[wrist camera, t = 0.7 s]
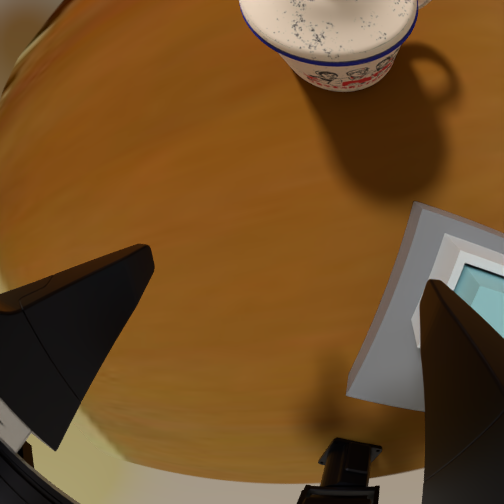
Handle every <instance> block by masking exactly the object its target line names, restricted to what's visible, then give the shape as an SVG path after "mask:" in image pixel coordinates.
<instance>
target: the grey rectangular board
mask: <svg viewBox="0 0 504 504" xmlns="http://www.w3.org/2000/svg"><path fill="white" fill-rule="evenodd" d="M464 265H467V266H470V267H473V268H476V269H479V270H482V271H485V272H488V273H491V274H494V275H496V276H499V277H502V278H504V233H501V232H499V231H497V230H494V229H492V228H489V227H487V226H484V225H482V224H479V223H476V222H474V221H471V220H469V219H466V218H463V217H460V216H458V215H455V214H452V213H449V212H446V211H444V210H441V209H438V208H435V207H432V206H429V205H426V204H423V203H420V202H417V201H414V202H413V206H412V210H411V213H410V217H409V220H408V224H407V227H406V230H405V234H404V237H403V240H402V243H401V246H400V250H399V253H398V256H397V259H396V262H395V264H394V267H393V270H392V273H391V276H390V279H389V281H388V284H387V287H386V289H385V292H384V295H383V297H382V300H381V302H380V305H379V307H378V310H377V312H376V315H375V317H374V320H373V322H372V324H371V327H370V329H369V331H368V334H367V336H366V338H365V340H364V343H363V345H362V347H361V349H360V351H359V354H358V356H357V358H356V360H355V362H354V364H353V366H352V368H351V370H350V372H349V375H348V384H347V391H346V396H349V397H353V398H358V399H362V400H366V401H371V402H375V403H380V404H385V405H390V406H395V407H400V408H405V409H411V410H416V411H422V412H425V403H424V386H423V373H422V363H421V352H420V313H419V306H420V301H421V298H422V295H423V292H424V289H425V286H426V283H427V281H428V280H429V279H436V280H441V281H442V282H444V283H445V284H446V285H447V286H448V287H449V288H450V289H452V290H453V291H454V289H455V286H456V284H457V282H458V279H459V277H460V274H461V272H462V269H463V267H464Z"/></svg>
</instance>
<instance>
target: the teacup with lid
mask: <svg viewBox="0 0 504 504" xmlns="http://www.w3.org/2000/svg"><path fill="white" fill-rule="evenodd" d="M430 1H431V0H239V3H240V9H241V12H242V15H243V18H244V20H245V21H246V23H247V25H248V26H249V28H250V29H251V31H252V32H253V33H254V34H255V35H256V36H257V37H258V38H259V39H260V40H261V41H262V42H263V43H264V44H266V45H267V46H268V47H270V48H271V49H273V50H275V51H276V52H278V53H279V54H280V56H281V57H282V58H283V59H284V60H285V61H286V62H287V64H288V65H289V66H290V67H291V68H292V69H293V70H294V71H295V72H296V73H297V74H298V75H299V76H300V77H301V78H303V79H304V80H306V81H307V82H309V83H311V84H313V85H315V86H317V87H320V88H323V89H326V90H331V91H337V92H350V91H357V90H361V89H364V88H367V87H369V86H371V85H373V84H375V83H376V82H378V81H379V80H381V79H382V78H383V77H384V76H385V75H386V74H387V73H388V71H389V70H390V68H391V66H392V65H393V62H394V60H395V58H396V55H397V53H398V51H399V49H400V46H401V45H402V43H403V42H404V41H405V40H406V39H407V38H408V36H409V35H410V34H411V32H412V30H413V28H414V26H415V23H416V21H417V16H418V9H420V8H422V7H424V6H425V5H427V4H428V3H429V2H430Z"/></svg>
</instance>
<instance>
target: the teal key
mask: <svg viewBox="0 0 504 504" xmlns="http://www.w3.org/2000/svg"><path fill="white" fill-rule="evenodd" d="M454 292H455V293H456V294H457V295H458V296H460V297H461V298H462V299H463V300H464V301H465V302H466V303H467V304H468V305H469V306H471V307H472V308H473V309H474V310H475V311H476V312H477V313H478V314H479V315H480V316H481V317H482V318H483V319H484V320H486V321H487V322H488V323H489V324H490V325H491V326H492V327H493V328H494V329H495V330H496V331H497V332H498V333H499V334H500V335H501V336H502V337H503V338H504V278H502V277H499V276H496V275H494V274H491V273H488V272H485V271H482V270H479V269H476V268H473V267H470V266H467V265H464V267H463V269H462V272H461V274H460V277H459V279H458V282H457V284H456V286H455V289H454Z"/></svg>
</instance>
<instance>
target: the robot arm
mask: <svg viewBox="0 0 504 504" xmlns="http://www.w3.org/2000/svg"><path fill="white" fill-rule="evenodd" d="M154 268H155V267H154V261H153V256H152V252H151V248H150V246H149V245H146V244H136V245H133V246H130V247H127V248H125V249H122V250H119V251H116V252H113V253H110V254H108V255H105V256H102V257H99V258H97V259H94V260H91V261H88V262H86V263H83V264H80V265H78V266H75V267H72V268H70V269H67V270H64V271H62V272H59V273H57V274H55V275H51V276H49V277H46V278H44V279H41V280H38V281H36V282H33V283H30V284H27V285H25V286H22V287H19V288H16V289H13V290H10V291H7V292H5V293H2V294H0V504H80V503H78V502H77V501H75V500H74V499H73V498H71V497H70V496H68V495H67V494H65V493H64V492H63V491H61V490H60V489H59V488H57V487H56V486H55V485H53V484H52V483H51V482H50V481H48V480H47V479H46V478H45V477H43V476H42V475H41V474H40V473H39V472H37V471H36V470H35V469H34V464H33V456H32V447H31V445H30V444H29V443H27V441H26V440H27V438H28V437H29V435H30V434H31V433H32V434H33V435H35V436H36V437H37V438H38V439H40V440H41V441H42V442H43V443H45V444H46V445H47V446H49V447H50V448H51V449H53V450H54V451H56V450H57V449H58V447H59V445H60V443H61V441H62V439H63V437H64V435H65V433H66V431H67V429H68V427H69V425H70V423H71V421H72V419H73V417H74V415H75V413H76V411H77V410H78V408H79V406H80V404H81V401H82V400H83V398H84V396H85V394H86V392H87V390H88V389H89V387H90V385H91V383H92V381H93V379H94V378H95V376H96V374H97V372H98V371H99V369H100V367H101V365H102V363H103V362H104V360H105V358H106V356H107V355H108V353H109V351H110V350H111V348H112V346H113V344H114V343H115V341H116V339H117V338H118V336H119V334H120V333H121V331H122V329H123V328H124V326H125V324H126V323H127V321H128V319H129V318H130V316H131V315H132V313H133V311H134V310H135V308H136V306H137V304H138V302H139V300H140V298H141V296H142V294H143V292H144V290H145V288H146V286H147V284H148V282H149V280H150V278H151V276H152V274H153V272H154ZM419 313H420V352H421V363H422V373H423V386H424V403H425V470H424V484H423V496H422V504H504V338H503V337H502V336H501V335H500V334H499V333H498V332H497V331H496V330H495V329H494V328H493V327H492V326H491V325H490V324H489V323H488V322H487V321H486V320H484V319H483V318H482V317H481V316H480V315H479V314H478V313H477V312H476V311H475V310H474V309H473V308H472V307H471V306H469V305H468V304H467V303H466V302H465V301H464V300H463V299H462V298H461V297H460V296H458V295H457V294H456V293H455V292H454V291H453V290H452V289H450V288H449V287H448V286H447V285H446V284H445V283H444V282H442V281H441V280H436V279H429V280H428V281H427V283H426V286H425V289H424V292H423V295H422V298H421V301H420V306H419ZM381 452H382V447H381V446H375V445H370V444H364V443H359V442H354V441H349V440H345V439H340V438H335V439H333V441H332V442H331V444H330V445H329V447H328V448H327V449H326V451H325V452H324V454H323V455H322V456H321V458H320V459H319V462H318V463H319V464H321V465H325V468H324V472H323V476H322V480H321V484H320V486H311V485H306V486H305V488H304V490H302V492H301V495H300V497H299V499H298V502H297V504H378V499H379V488H380V486H375V487H368V483H369V475H370V466H371V462H372V461H373V460H374V459H375V458H376V457H377V456H378V455H379V454H380V453H381Z"/></svg>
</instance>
